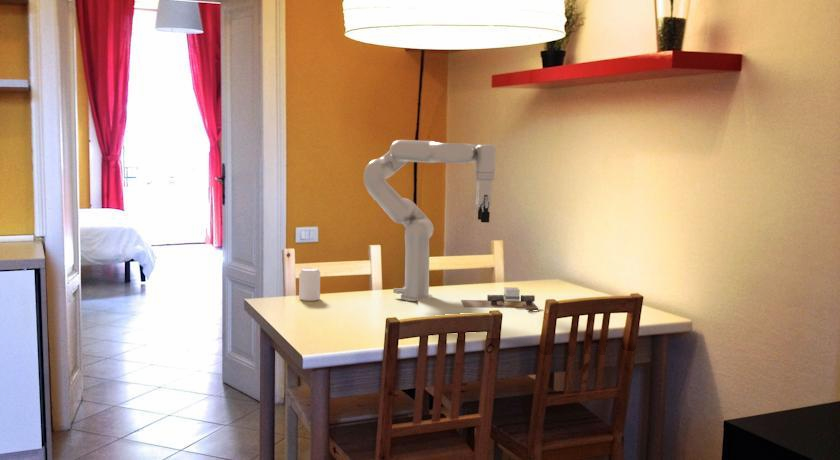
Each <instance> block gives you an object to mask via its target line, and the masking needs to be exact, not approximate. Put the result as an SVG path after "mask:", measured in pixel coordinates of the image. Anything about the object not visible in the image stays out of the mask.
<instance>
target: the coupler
mask: <svg viewBox="0 0 840 460" xmlns="http://www.w3.org/2000/svg"><path fill="white" fill-rule="evenodd" d="M520 291H521V290H520V288H518V287H504V291H503V295H504V302H519V301H520V300H521V295H520Z"/></svg>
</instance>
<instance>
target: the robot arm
mask: <svg viewBox="0 0 840 460" xmlns="http://www.w3.org/2000/svg"><path fill="white" fill-rule="evenodd" d="M408 162H409V163H428V164H434V163H445V164H463V165H464V164H468V163H475V169H474V170H475V171H474V172H475V173H474V175H475V176H474V181H477V183H476V193H475V205H476V206H477V207H478V209H477V220H478V221H479V220H480V222H481V223H490V215H491V213H490V206H491V204H492V182H495V180H496V179H495V177H496V146H495V145H493V144H472V143H450V142H448V143H447V142H438V141H434V140H417V139H396V140H395V141H393V142H391V145H390V147H389V150H388V151H387V152H386V153H385V154H384V155H382V156H381V157H379V158H375V159H372V160H371V161H369V162H368V164H367V165H366V166H365V169H364V172H363V184H364V187H365V189H366V191H367V192H368V194H369V195H370V196H371V198H373V200H374V201H376V203H377V205H379V207H381V209H382V210H383V211H384V212H385V213H386V214H387V216H388V217H389V218H390V219H391V220H392V222H394V223H396V224H402V225H403V226H404V228H405V231H404V244H405V245H404V247H405V248H404V249H405V250H404V252H405V254H404V255H405V256H404V257H405V259H404V261H405V263H404V264H405V265H404V285H403V287H401V288H399V287H397V288H396V287H393V290H392V291H393V294H396V295H397V294H401V295H400V299H401V300H403V301H408V302H418V300H423V299H424V300H425V299H431V298H432V297H433V295H432V294H429V289H430V238H432V236H433V234H434V231H435V230H434V225H433V222H432V221H431V219H429V218H428V216H427V215H426V214H425V213H424V212H423V211H422V209H420V207H418V205H417V204H416V203H415V202H414V201H412V200H411V199H410V198H407V197H402V196H401V195H400V194H399V193H398V192H397V191H396V190H395V189H394V188H393V187H392V186H391V184H389V183H388V182H387V179H389V178H391V177H392V176H393V175H395V174H396V173H397V172H398V171H399V170H400V169H401V168H402V167H404V166H405V165H406V164H408Z"/></svg>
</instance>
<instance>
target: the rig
mask: <svg viewBox="0 0 840 460" xmlns="http://www.w3.org/2000/svg"><path fill="white" fill-rule="evenodd" d="M535 297H536V296H535V295H534V294H533V295H531V294H529V295H525V294H524V295H523V294H521V295H520V300H519V302H504V294H487V298H486V299H485V300H484V299H482V300H481V299H479V300H478V299H461V300H460V302H461V304H462V306H463V308H482V309H483V308H487V309H488V308H490V309H491V308H495V309H497V308H498V309H525V310H526V311H527V310H538V311H539V307H538V306H537V305H536V304H535V303H534V302H535V299H536V298H535Z"/></svg>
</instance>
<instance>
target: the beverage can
mask: <svg viewBox="0 0 840 460" xmlns="http://www.w3.org/2000/svg"><path fill="white" fill-rule="evenodd" d="M298 275H299V276H298V279H299V280H298V282H299V283H298V287H299V289H298V290H299V291H298V298H299V300H301V301H304V302H315V301H318V300H320V299H321V272H320V268H317V267H303V268H301V269H300V270H299V272H298Z"/></svg>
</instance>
